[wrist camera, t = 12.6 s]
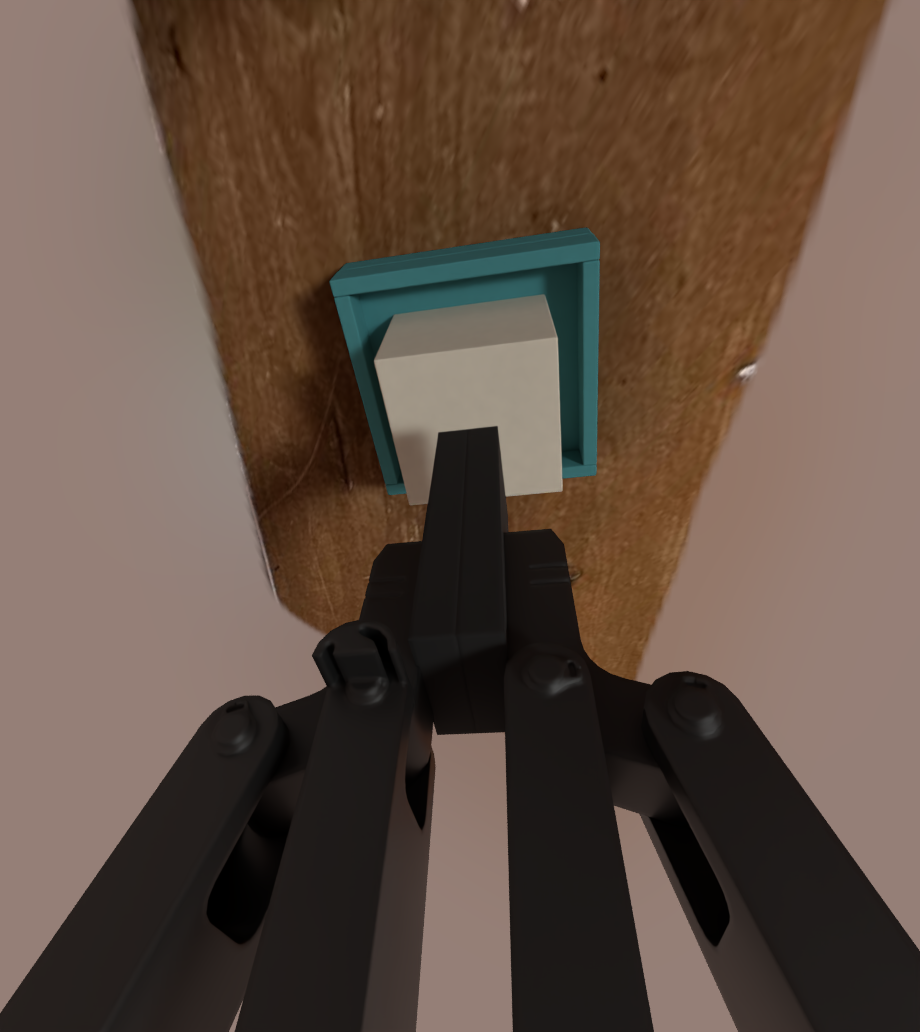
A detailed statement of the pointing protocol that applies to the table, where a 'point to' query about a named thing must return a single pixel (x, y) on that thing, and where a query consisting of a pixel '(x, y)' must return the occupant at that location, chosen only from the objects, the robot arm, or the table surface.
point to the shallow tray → (476, 279)
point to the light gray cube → (475, 388)
